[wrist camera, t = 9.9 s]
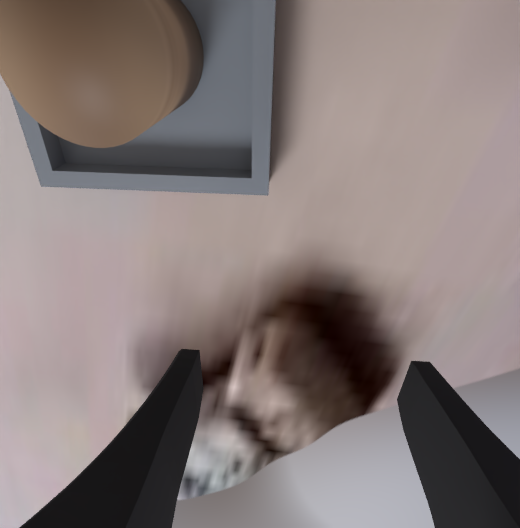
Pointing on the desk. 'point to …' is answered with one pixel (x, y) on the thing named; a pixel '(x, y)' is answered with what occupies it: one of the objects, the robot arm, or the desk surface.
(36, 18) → the cylinder
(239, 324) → the desk surface
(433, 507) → the robot arm
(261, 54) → the tray
